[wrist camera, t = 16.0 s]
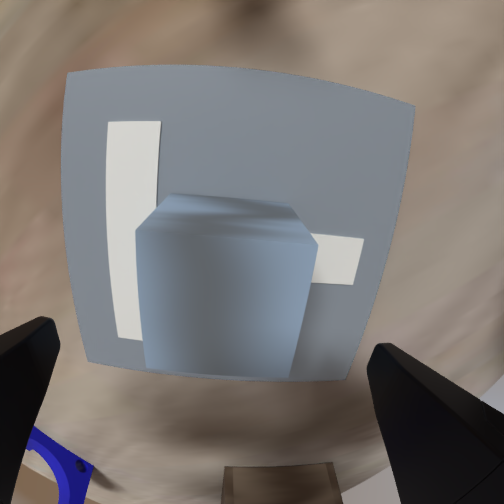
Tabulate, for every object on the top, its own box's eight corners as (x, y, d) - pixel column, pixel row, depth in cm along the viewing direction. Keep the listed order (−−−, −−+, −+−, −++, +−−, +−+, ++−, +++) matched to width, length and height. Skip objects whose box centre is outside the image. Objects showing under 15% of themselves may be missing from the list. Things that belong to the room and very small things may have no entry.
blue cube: (288, 203, 13) (318, 245, 8) (272, 304, 15) (288, 377, 10) (170, 193, 12) (134, 230, 8) (169, 296, 14) (146, 367, 10)
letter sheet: (412, 106, 12) (416, 105, 11) (344, 376, 18) (345, 380, 17) (70, 73, 10) (66, 72, 10) (89, 358, 16) (87, 362, 16)
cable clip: (-10, 406, 19) (-31, 444, 14) (-2, 394, 18) (-27, 437, 13) (77, 469, 23) (65, 510, 18) (94, 464, 22) (82, 510, 17)
